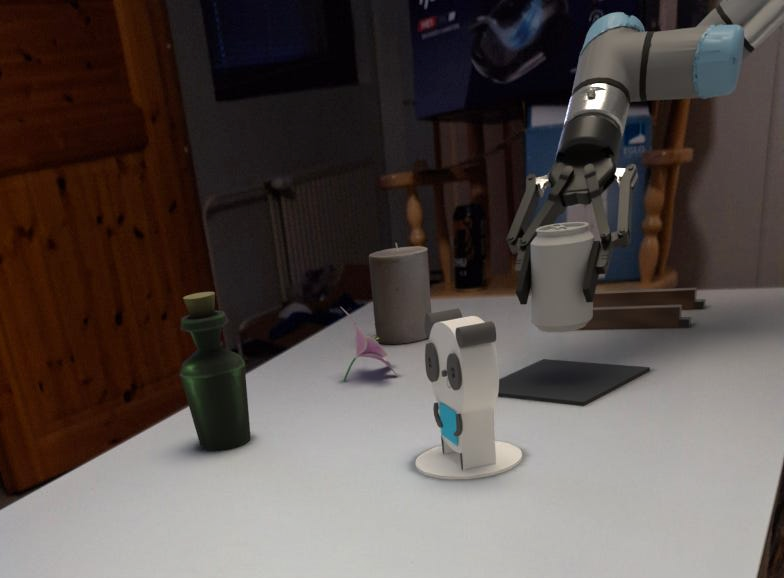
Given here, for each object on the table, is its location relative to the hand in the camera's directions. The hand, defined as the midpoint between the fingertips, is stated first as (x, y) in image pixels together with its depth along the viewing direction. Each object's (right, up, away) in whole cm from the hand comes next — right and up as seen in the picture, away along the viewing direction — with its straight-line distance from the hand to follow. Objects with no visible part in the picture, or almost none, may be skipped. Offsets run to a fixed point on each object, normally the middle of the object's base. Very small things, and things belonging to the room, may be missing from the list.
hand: (553, 296), depth 113 cm
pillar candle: (-13, +9, +44) cm, 47 cm away
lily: (-20, -3, +24) cm, 32 cm away
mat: (+3, -8, +8) cm, 12 cm away
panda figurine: (-13, -23, -12) cm, 29 cm away
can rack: (+21, +9, +34) cm, 41 cm away
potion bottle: (-40, -17, +5) cm, 44 cm away
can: (+2, -2, +5) cm, 6 cm away
